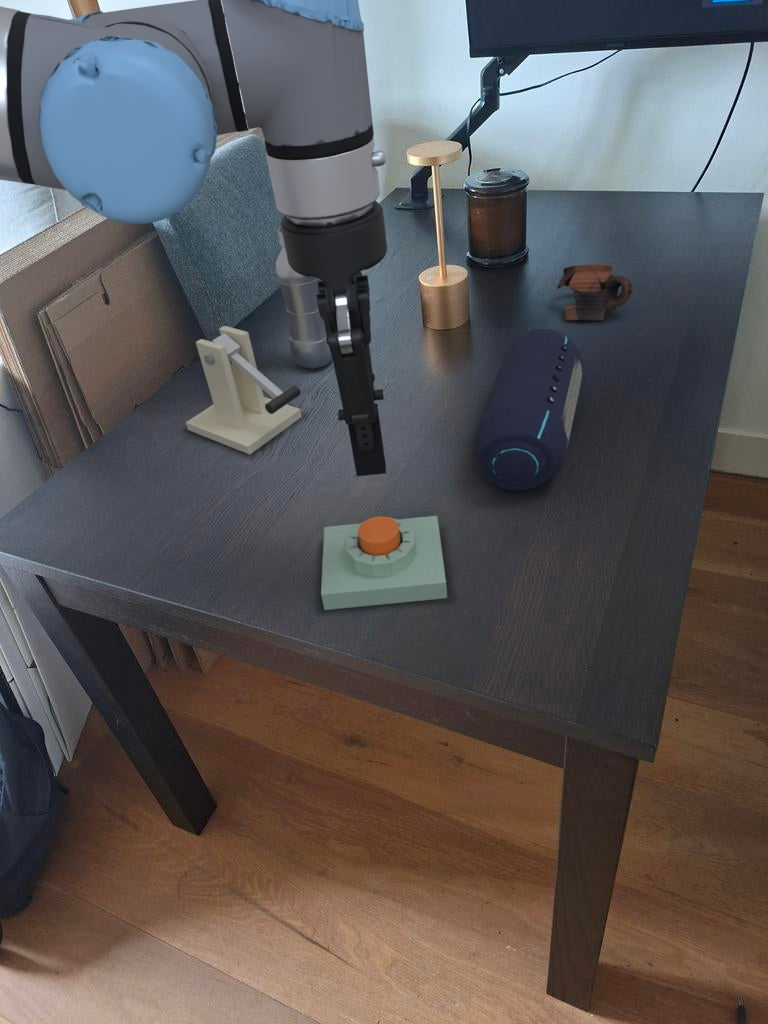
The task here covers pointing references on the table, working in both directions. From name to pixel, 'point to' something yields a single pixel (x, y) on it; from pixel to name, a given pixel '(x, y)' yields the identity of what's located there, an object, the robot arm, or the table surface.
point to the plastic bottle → (302, 314)
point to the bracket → (236, 400)
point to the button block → (383, 567)
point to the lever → (257, 376)
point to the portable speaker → (530, 411)
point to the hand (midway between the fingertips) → (371, 469)
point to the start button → (379, 536)
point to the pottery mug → (594, 291)
